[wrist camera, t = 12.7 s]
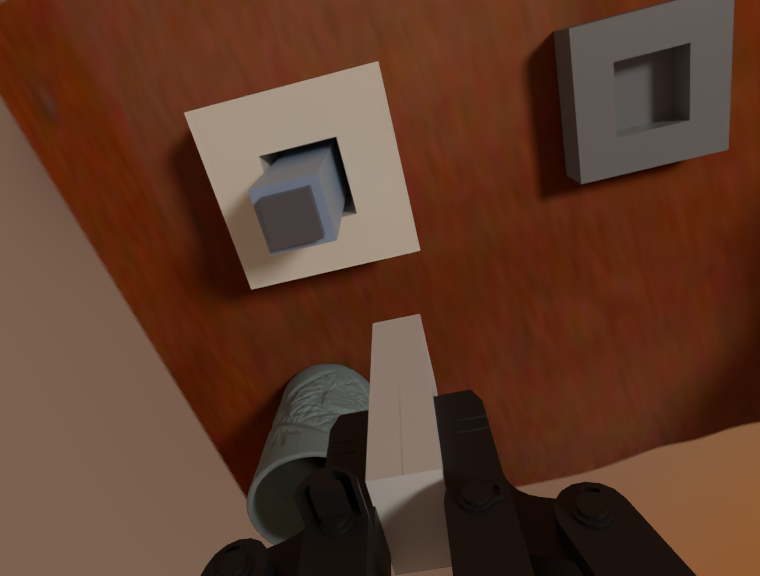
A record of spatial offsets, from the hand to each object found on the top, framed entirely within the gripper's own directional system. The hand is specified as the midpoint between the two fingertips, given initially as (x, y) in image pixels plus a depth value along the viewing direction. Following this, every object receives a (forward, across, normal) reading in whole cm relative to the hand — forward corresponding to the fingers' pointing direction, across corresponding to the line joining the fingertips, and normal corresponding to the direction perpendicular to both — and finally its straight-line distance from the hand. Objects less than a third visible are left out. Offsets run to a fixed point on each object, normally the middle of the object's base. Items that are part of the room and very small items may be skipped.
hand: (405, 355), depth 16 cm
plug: (+23, +5, -3) cm, 24 cm away
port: (+24, +5, -3) cm, 25 cm away
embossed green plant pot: (+24, +10, +18) cm, 32 cm away
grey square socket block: (+25, -18, -3) cm, 31 cm away
